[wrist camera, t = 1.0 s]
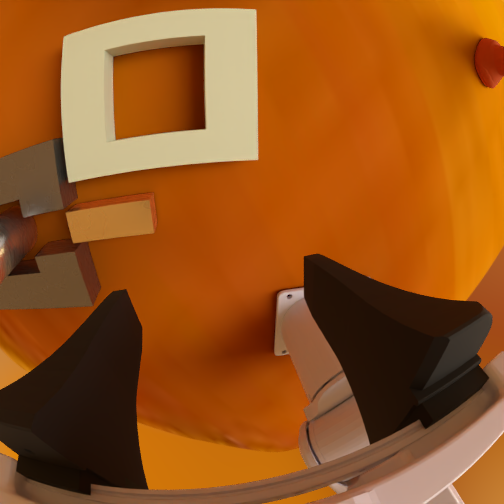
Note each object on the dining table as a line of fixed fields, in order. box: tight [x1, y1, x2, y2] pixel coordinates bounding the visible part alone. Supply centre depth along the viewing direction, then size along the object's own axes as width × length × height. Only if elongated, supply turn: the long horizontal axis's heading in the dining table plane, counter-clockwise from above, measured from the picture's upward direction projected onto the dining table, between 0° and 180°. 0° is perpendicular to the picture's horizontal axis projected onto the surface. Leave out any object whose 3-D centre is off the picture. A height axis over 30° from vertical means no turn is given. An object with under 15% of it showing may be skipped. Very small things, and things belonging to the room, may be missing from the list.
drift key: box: [66, 193, 157, 243], centre depth 16 cm, size 6×2×2 cm, turn 90°
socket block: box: [0, 138, 101, 309], centre depth 15 cm, size 12×12×2 cm
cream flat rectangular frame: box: [61, 8, 258, 183], centre depth 13 cm, size 12×10×2 cm
